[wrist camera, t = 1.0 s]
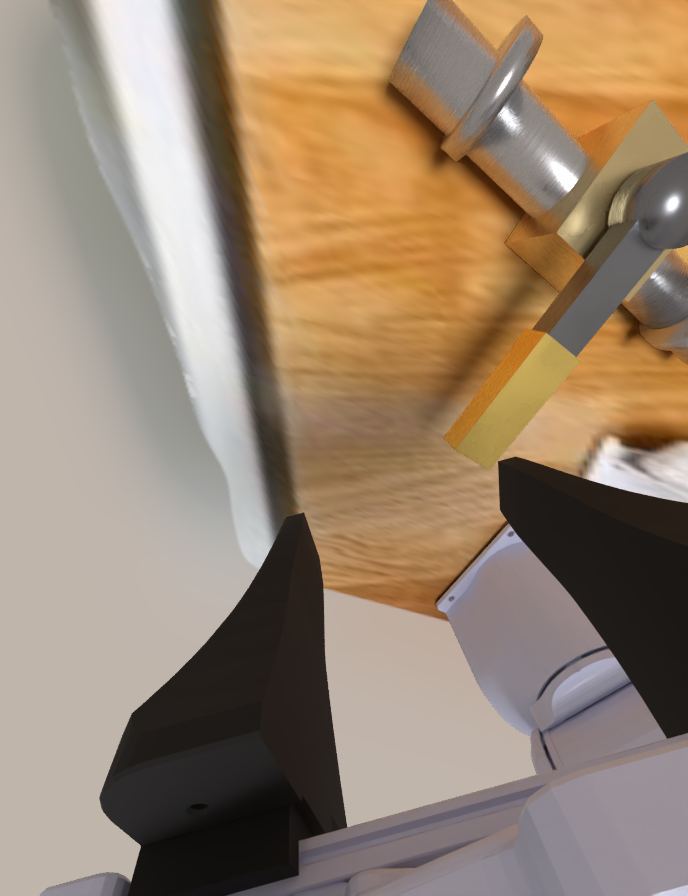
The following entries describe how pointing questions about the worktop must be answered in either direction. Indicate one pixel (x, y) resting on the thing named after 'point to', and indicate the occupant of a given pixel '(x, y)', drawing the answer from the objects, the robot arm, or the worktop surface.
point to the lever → (578, 310)
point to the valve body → (542, 156)
